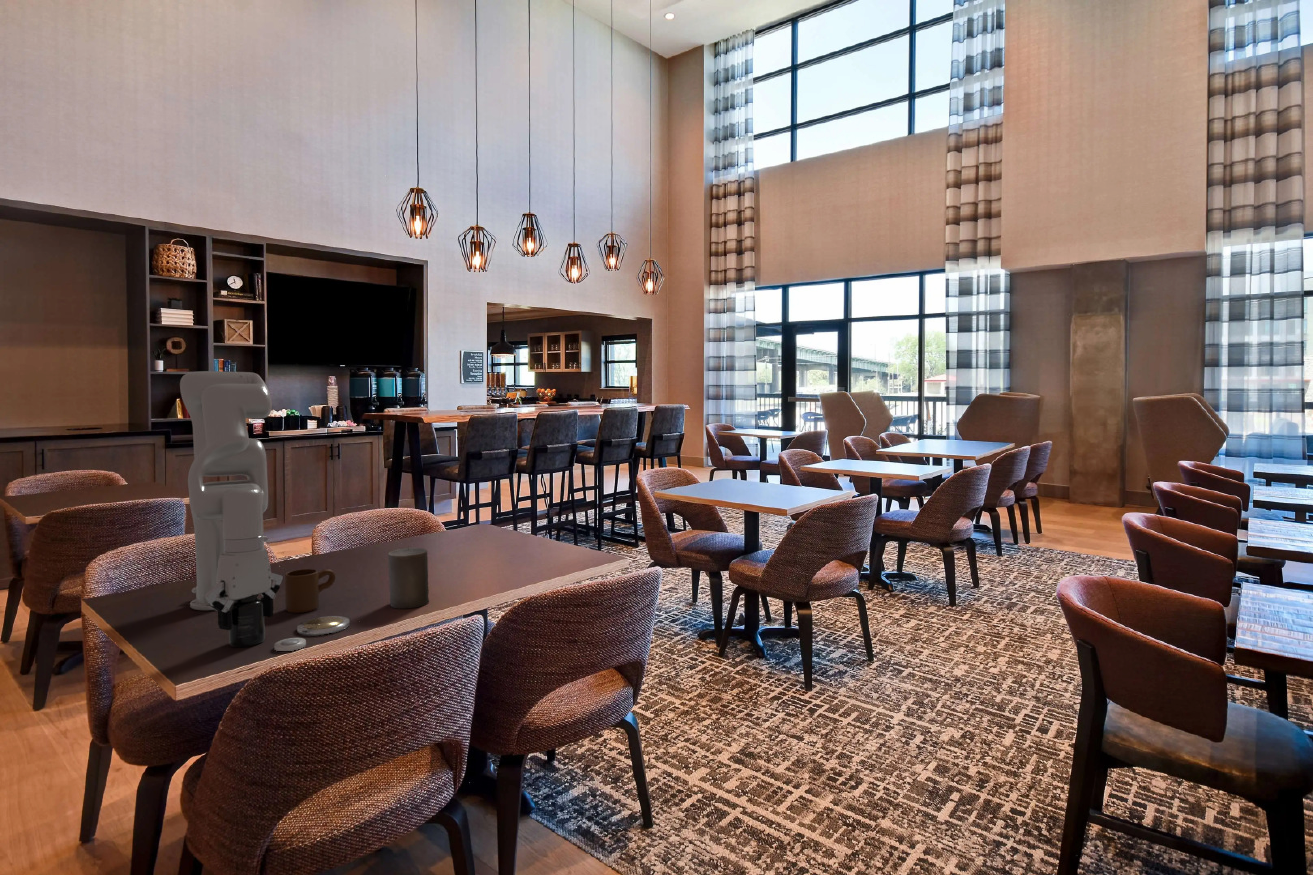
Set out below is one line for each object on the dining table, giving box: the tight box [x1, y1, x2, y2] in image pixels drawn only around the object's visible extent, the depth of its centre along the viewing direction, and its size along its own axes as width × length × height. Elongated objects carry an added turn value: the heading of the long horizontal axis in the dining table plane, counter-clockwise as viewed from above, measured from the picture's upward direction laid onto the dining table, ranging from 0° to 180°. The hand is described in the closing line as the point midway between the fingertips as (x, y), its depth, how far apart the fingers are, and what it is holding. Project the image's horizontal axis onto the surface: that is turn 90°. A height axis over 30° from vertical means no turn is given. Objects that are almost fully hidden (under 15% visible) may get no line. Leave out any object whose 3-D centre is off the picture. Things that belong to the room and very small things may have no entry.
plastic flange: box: [274, 637, 307, 652], centre depth 153 cm, size 6×6×1 cm
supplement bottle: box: [228, 594, 266, 648], centre depth 156 cm, size 7×7×12 cm
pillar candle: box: [387, 546, 430, 609], centre depth 185 cm, size 10×10×15 cm
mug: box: [284, 568, 336, 614], centre depth 181 cm, size 12×8×9 cm, turn 134°
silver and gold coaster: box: [296, 615, 350, 637], centre depth 166 cm, size 11×11×1 cm
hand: (246, 622), depth 156 cm, fingers open, 9 cm apart
